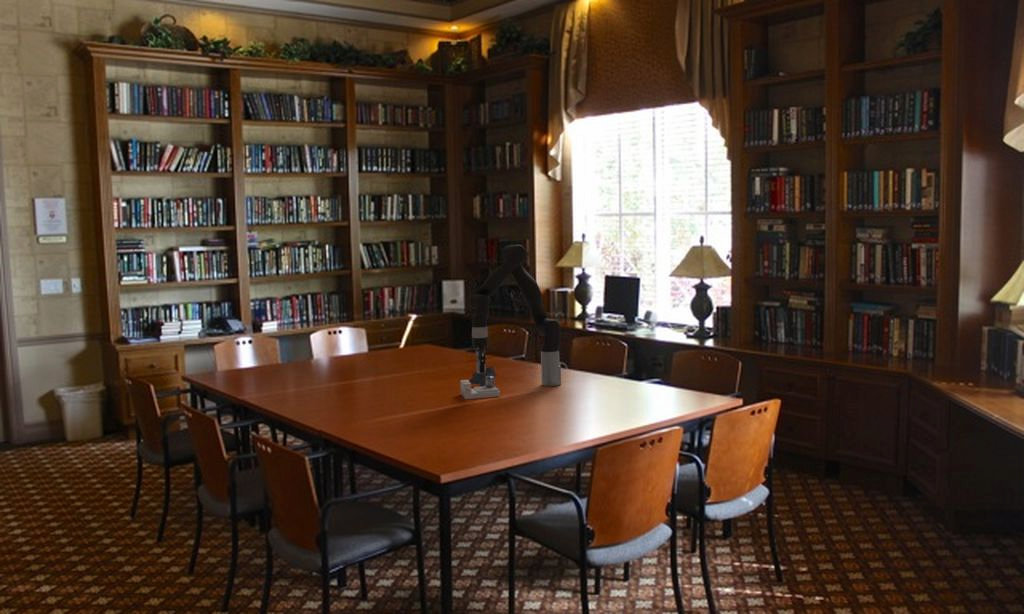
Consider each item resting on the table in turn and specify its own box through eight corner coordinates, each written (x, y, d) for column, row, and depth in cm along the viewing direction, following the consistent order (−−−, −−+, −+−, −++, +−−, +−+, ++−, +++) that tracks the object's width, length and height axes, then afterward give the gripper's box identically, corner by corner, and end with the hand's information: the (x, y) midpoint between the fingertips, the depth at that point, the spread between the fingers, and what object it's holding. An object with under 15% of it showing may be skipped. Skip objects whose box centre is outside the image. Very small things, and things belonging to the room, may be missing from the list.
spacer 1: (485, 371, 433) (484, 361, 433) (486, 373, 429) (486, 362, 428) (475, 372, 432) (475, 361, 432) (477, 373, 428) (477, 363, 428)
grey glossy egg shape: (493, 385, 441) (493, 375, 440) (495, 387, 436) (495, 377, 436) (484, 386, 440) (484, 376, 439) (486, 388, 436) (486, 377, 435)
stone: (473, 388, 453) (472, 368, 452) (468, 386, 458) (467, 367, 457) (497, 385, 459) (497, 365, 458) (492, 383, 464) (492, 364, 463)
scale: (495, 391, 443) (494, 376, 442) (500, 396, 430) (499, 381, 429) (460, 394, 439) (460, 379, 438) (464, 399, 427) (464, 384, 426)
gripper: (490, 337, 423) (491, 373, 424) (485, 333, 437) (486, 368, 438) (474, 338, 421) (475, 374, 423) (469, 334, 435) (471, 369, 437)
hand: (481, 371), depth 431 cm, fingers closed on spacer 1, 4 cm apart
